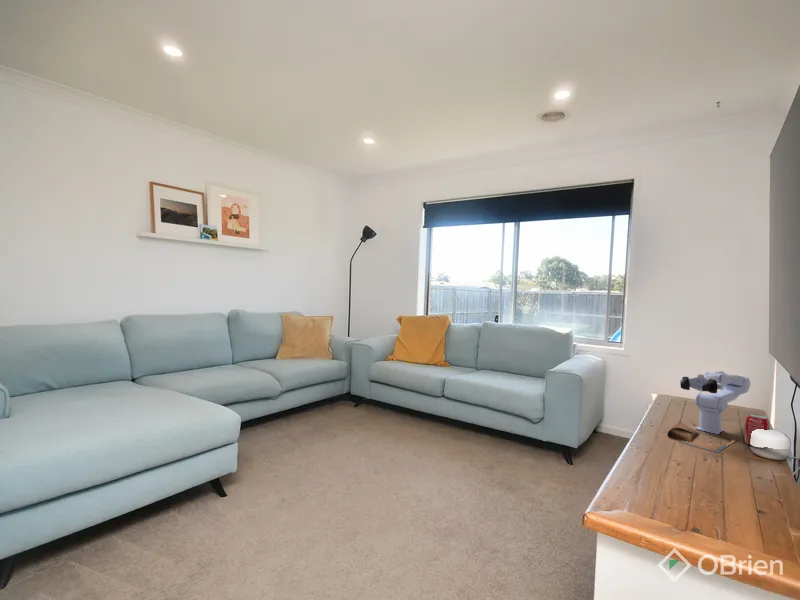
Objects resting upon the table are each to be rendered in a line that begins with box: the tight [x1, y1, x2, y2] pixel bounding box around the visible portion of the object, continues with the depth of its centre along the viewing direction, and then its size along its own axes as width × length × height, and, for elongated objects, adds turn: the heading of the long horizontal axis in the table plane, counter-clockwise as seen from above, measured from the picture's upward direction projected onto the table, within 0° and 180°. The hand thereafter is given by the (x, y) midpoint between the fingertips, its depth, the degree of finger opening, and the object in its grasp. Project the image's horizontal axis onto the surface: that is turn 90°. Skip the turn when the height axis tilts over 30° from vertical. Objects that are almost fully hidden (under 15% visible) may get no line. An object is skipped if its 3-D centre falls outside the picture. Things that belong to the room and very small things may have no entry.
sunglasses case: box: [667, 421, 700, 443], centre depth 168 cm, size 18×7×7 cm
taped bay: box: [679, 431, 729, 454], centre depth 161 cm, size 24×12×1 cm, turn 127°
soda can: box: [744, 413, 770, 445], centre depth 159 cm, size 7×7×12 cm
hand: (692, 387), depth 165 cm, fingers open, 7 cm apart
